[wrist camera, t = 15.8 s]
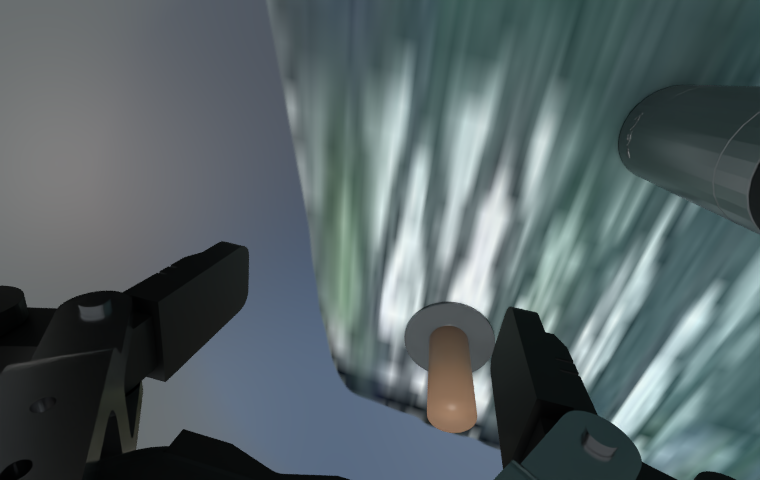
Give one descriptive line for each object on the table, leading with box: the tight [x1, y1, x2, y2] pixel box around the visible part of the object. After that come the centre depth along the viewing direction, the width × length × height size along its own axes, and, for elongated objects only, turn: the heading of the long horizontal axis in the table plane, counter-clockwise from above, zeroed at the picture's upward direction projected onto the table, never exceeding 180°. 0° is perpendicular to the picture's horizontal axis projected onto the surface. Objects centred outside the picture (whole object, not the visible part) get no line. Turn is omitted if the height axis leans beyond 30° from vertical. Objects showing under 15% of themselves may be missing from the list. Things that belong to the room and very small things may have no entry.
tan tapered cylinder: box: [427, 326, 477, 433], centre depth 44 cm, size 5×5×12 cm
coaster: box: [405, 302, 495, 372], centre depth 50 cm, size 12×12×1 cm
